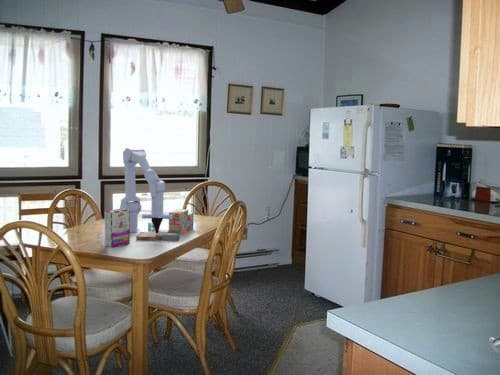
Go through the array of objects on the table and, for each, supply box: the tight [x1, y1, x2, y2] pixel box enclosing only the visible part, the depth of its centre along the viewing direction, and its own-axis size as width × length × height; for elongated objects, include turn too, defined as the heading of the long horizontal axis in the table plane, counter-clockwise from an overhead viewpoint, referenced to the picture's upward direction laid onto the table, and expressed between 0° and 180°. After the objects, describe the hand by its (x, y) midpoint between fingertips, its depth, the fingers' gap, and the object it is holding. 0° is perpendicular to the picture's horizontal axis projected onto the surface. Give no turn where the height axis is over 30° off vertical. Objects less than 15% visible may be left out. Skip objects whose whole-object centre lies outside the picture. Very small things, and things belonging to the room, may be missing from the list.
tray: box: [161, 231, 181, 242], centre depth 236 cm, size 8×10×3 cm
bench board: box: [135, 231, 162, 242], centre depth 235 cm, size 12×11×2 cm
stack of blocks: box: [168, 208, 195, 237], centre depth 253 cm, size 21×6×12 cm, turn 168°
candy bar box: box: [104, 208, 131, 248], centre depth 218 cm, size 11×5×16 cm, turn 148°
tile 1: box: [158, 229, 169, 236], centre depth 236 cm, size 4×4×2 cm
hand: (157, 233), depth 235 cm, fingers closed
